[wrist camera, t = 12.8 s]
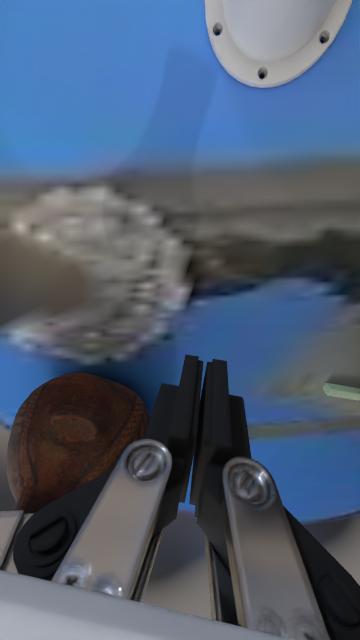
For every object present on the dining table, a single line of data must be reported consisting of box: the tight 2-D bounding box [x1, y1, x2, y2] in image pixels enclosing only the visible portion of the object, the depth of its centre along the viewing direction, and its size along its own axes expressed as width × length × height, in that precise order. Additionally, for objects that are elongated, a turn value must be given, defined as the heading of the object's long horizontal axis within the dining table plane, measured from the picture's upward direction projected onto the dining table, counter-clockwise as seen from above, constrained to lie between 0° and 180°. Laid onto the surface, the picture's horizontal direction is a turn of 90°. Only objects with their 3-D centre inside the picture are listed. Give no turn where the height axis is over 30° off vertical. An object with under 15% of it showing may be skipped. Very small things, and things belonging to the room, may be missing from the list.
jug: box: [7, 372, 150, 514], centre depth 33 cm, size 22×22×30 cm
